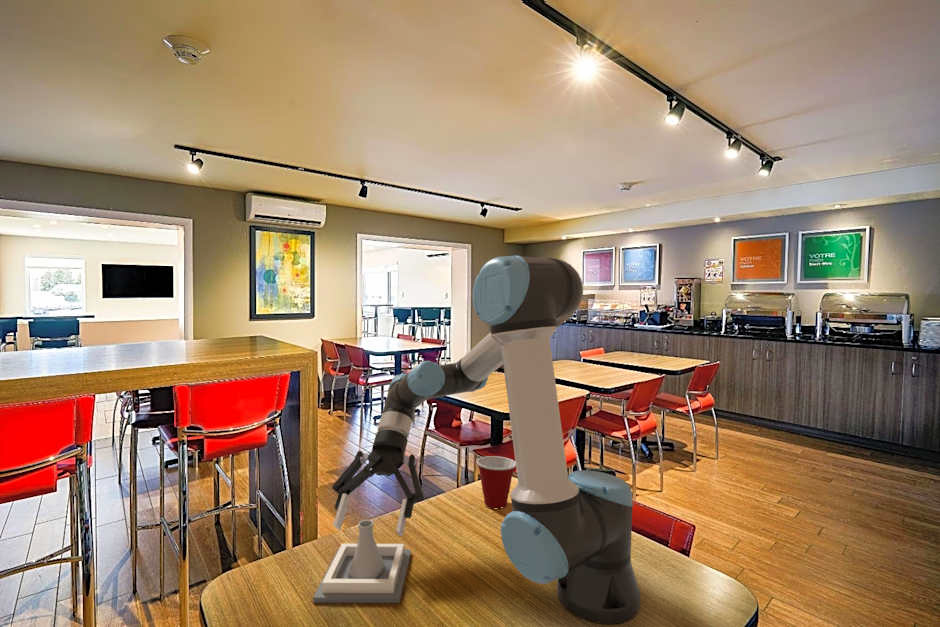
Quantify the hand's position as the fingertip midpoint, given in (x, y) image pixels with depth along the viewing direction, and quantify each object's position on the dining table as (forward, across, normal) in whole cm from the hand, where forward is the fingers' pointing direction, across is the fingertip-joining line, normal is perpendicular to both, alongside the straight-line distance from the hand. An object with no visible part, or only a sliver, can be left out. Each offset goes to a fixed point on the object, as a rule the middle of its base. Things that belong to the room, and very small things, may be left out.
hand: (367, 530), depth 96 cm
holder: (+7, 0, -5) cm, 9 cm away
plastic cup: (-18, -22, -31) cm, 42 cm away
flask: (+7, 0, -4) cm, 8 cm away
